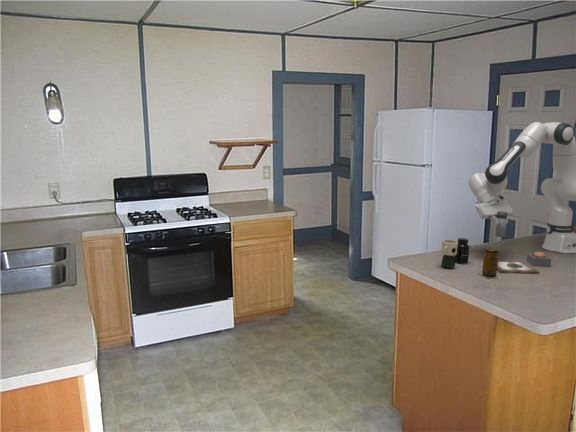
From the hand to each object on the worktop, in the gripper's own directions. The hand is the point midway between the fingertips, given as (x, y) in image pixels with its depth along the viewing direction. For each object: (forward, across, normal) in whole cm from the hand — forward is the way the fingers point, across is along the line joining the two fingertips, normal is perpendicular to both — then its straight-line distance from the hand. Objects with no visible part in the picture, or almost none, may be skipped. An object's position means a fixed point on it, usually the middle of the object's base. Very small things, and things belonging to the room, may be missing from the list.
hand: (502, 223), depth 238 cm
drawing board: (+22, -4, +6) cm, 23 cm away
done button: (+20, +14, +3) cm, 25 cm away
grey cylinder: (+4, 0, +5) cm, 6 cm away
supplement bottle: (+10, -19, +18) cm, 28 cm away
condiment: (+24, -22, +3) cm, 33 cm away
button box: (+22, +14, +6) cm, 27 cm away
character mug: (+12, -32, +15) cm, 37 cm away
